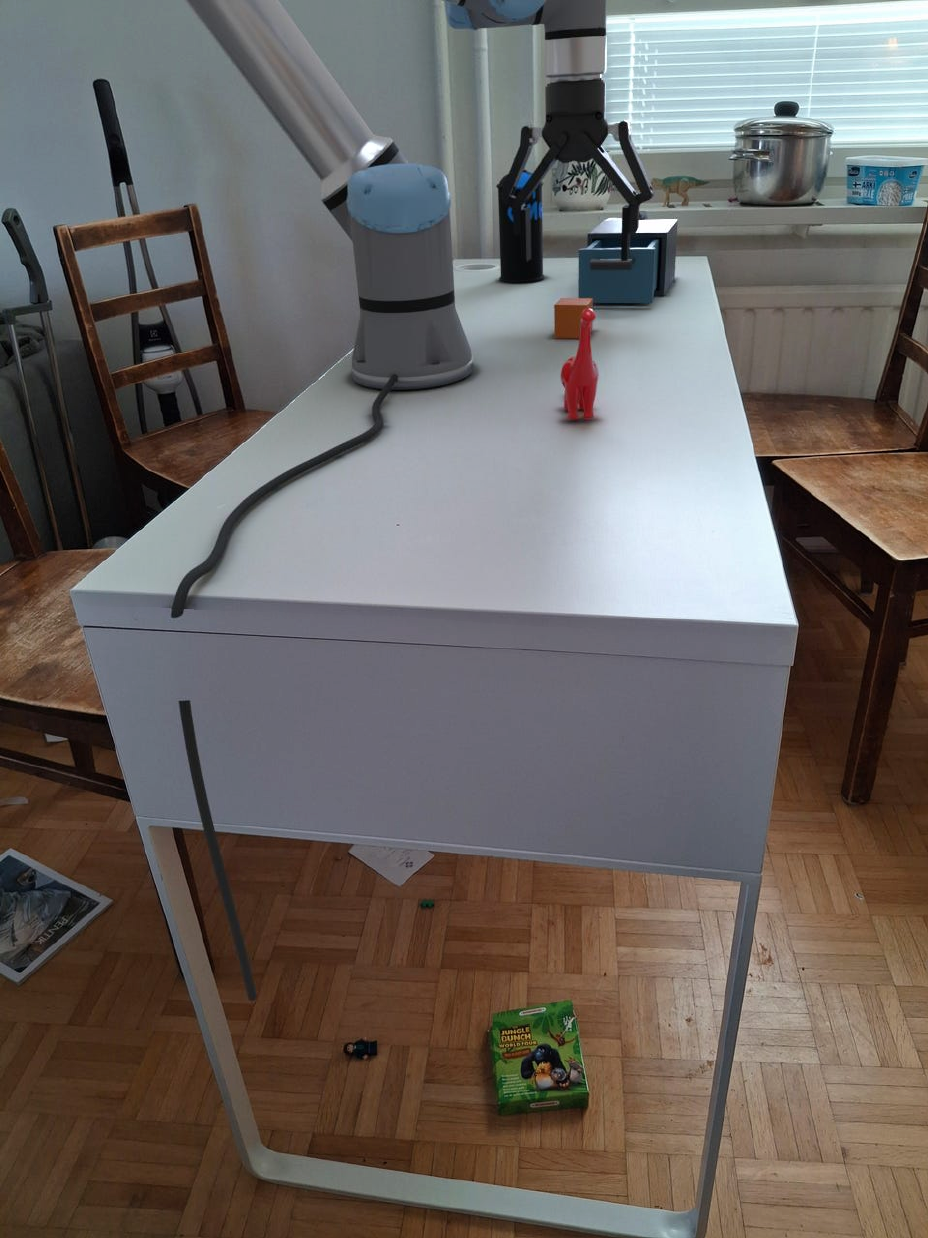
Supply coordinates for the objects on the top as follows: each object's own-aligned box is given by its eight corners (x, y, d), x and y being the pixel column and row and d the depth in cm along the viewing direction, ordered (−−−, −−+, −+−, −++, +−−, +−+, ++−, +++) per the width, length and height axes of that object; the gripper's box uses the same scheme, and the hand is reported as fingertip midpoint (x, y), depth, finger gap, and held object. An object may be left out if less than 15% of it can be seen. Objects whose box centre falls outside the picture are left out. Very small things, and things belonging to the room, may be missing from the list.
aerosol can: (491, 278, 172) (487, 157, 162) (531, 273, 174) (529, 154, 165) (512, 285, 165) (509, 159, 155) (552, 279, 168) (552, 155, 158)
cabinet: (664, 295, 150) (667, 231, 145) (586, 295, 154) (587, 233, 149) (674, 278, 162) (677, 219, 157) (602, 278, 166) (603, 220, 161)
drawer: (647, 310, 138) (650, 254, 134) (571, 309, 141) (571, 254, 137) (663, 285, 153) (665, 234, 149) (594, 285, 156) (595, 235, 152)
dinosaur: (587, 394, 106) (589, 280, 100) (608, 438, 93) (610, 310, 87) (553, 396, 106) (552, 283, 100) (568, 440, 93) (568, 312, 87)
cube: (586, 338, 129) (586, 304, 126) (554, 338, 130) (554, 304, 128) (592, 330, 132) (592, 298, 130) (561, 330, 134) (561, 297, 131)
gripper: (680, 72, 115) (671, 253, 126) (487, 84, 122) (493, 255, 133) (674, 72, 109) (665, 263, 120) (470, 85, 116) (479, 265, 127)
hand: (575, 259), depth 126 cm, fingers open, 13 cm apart
